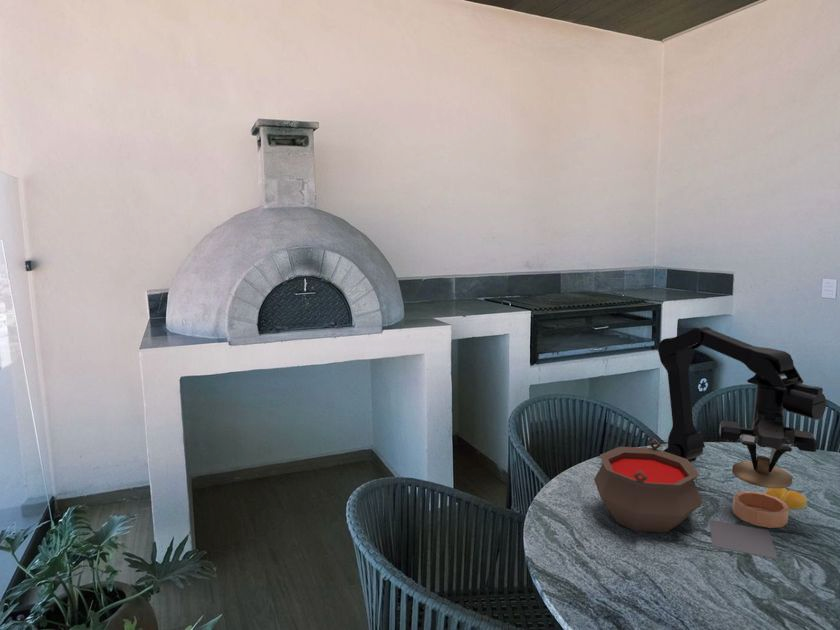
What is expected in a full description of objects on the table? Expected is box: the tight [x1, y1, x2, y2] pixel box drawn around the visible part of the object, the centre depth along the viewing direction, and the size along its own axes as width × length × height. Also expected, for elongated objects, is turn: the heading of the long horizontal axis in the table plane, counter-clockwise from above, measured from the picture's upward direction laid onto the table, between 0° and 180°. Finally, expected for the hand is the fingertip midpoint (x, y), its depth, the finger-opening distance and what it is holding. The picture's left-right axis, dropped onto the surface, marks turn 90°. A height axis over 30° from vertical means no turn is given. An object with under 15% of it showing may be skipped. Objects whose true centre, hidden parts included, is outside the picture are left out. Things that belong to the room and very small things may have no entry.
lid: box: [731, 455, 793, 489], centre depth 133 cm, size 12×12×4 cm
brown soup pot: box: [593, 438, 703, 533], centre depth 135 cm, size 24×24×16 cm
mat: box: [708, 519, 778, 560], centre depth 127 cm, size 12×12×1 cm
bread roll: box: [763, 488, 808, 510], centre depth 143 cm, size 8×9×4 cm
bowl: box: [732, 490, 790, 529], centre depth 136 cm, size 11×11×4 cm
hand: (762, 470), depth 134 cm, fingers closed on lid, 3 cm apart
